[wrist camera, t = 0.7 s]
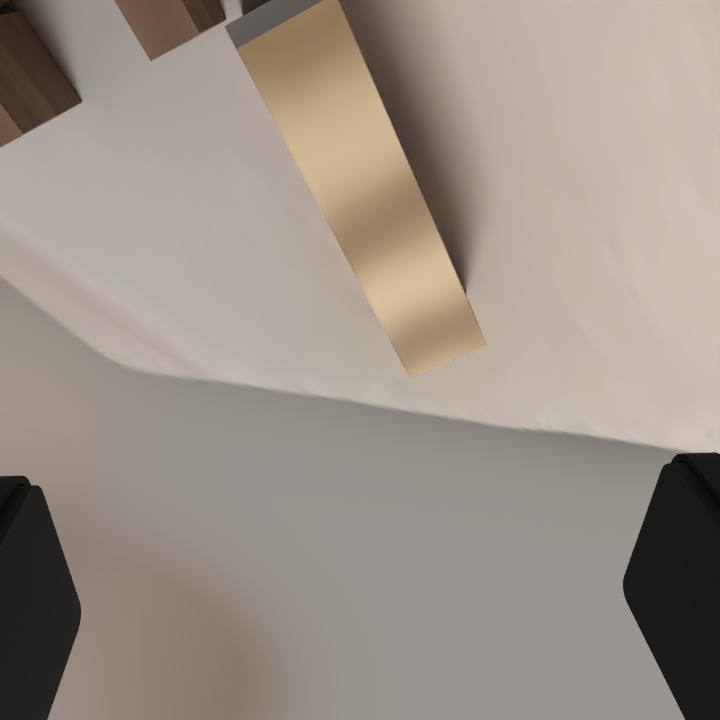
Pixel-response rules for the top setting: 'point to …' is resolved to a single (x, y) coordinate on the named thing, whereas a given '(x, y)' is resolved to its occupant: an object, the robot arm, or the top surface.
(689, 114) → the top surface
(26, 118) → the headboard
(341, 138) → the rail
